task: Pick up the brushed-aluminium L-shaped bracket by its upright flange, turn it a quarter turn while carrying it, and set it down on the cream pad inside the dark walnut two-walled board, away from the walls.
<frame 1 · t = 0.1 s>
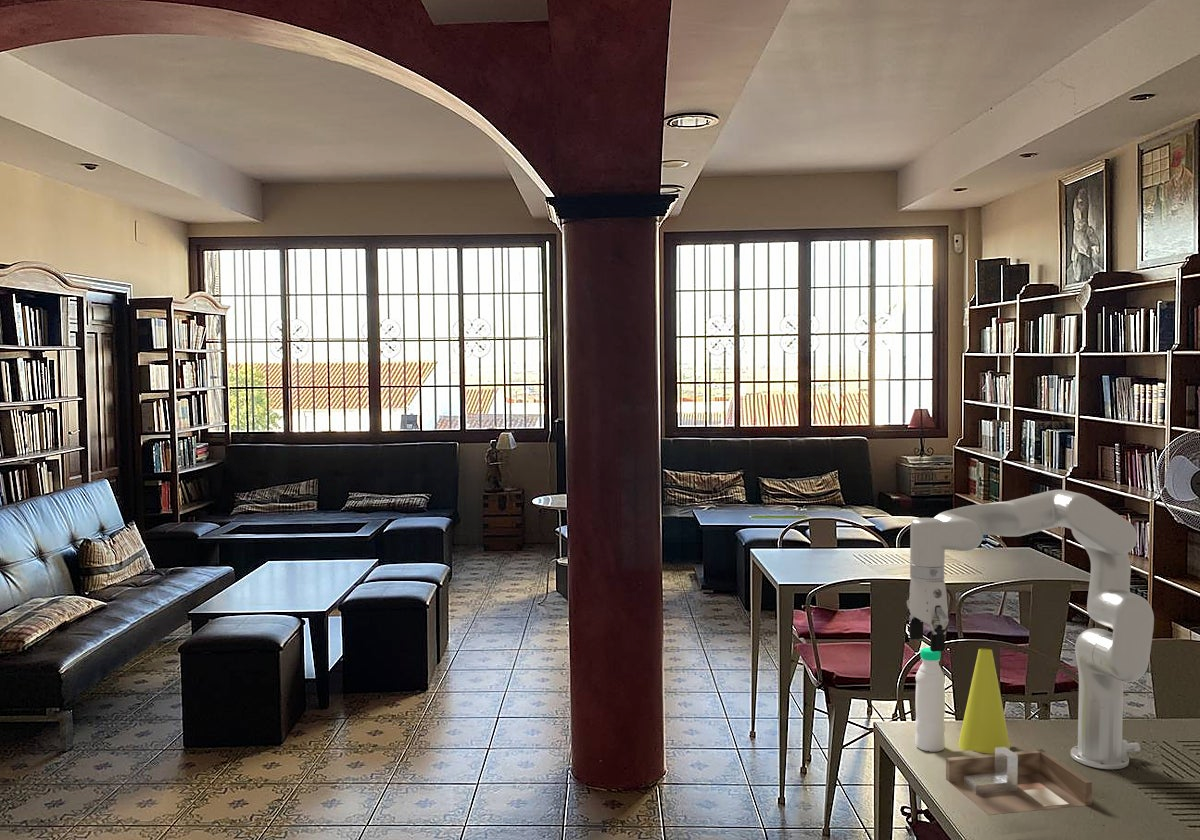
hand: (926, 644, 231), 31 cm above the table, tool pointing down, fingers open, 9 cm apart
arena: (1016, 795, 222), on the table
water bottle: (929, 748, 250), on the table
bracket: (990, 787, 224), point 1 cm above the table, touching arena
cone: (984, 748, 249), on the table
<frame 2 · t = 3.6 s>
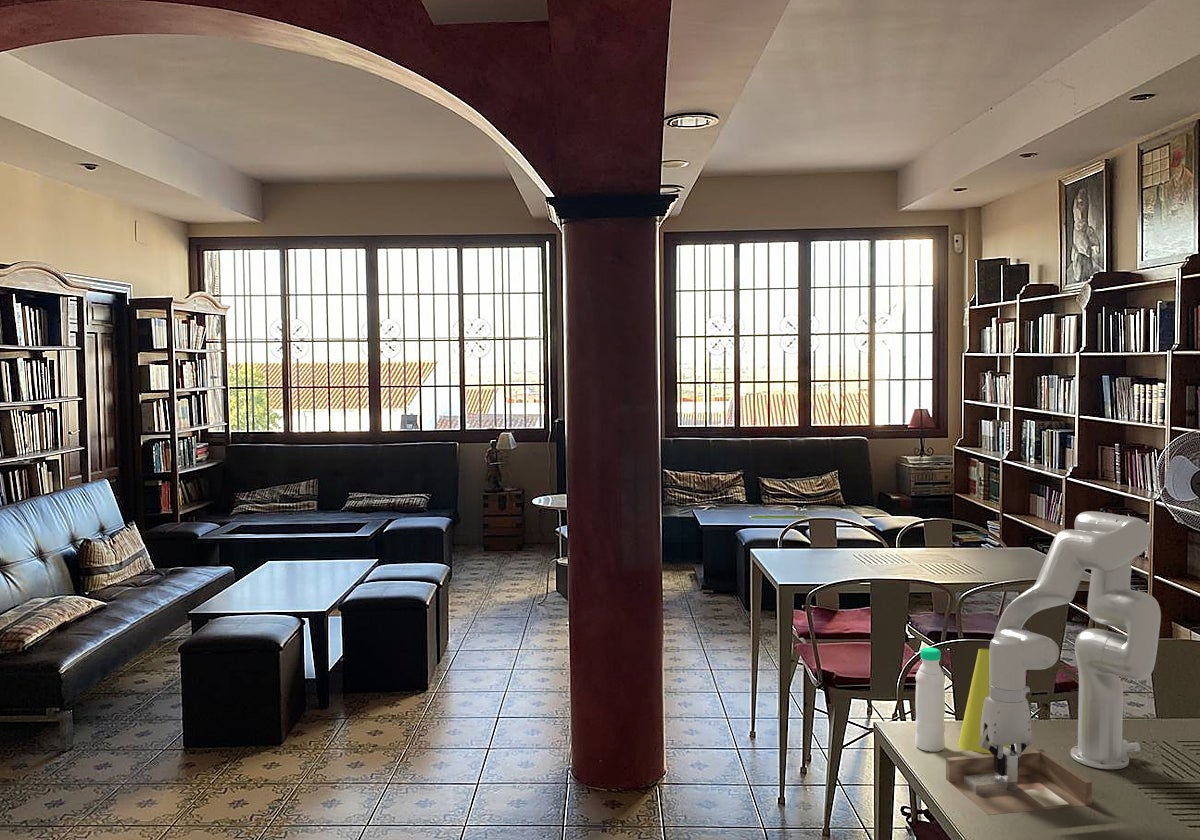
hand: (1006, 772, 225), 4 cm above the table, tool pointing down, fingers closed on bracket, 2 cm apart
bracket: (990, 787, 224), point 1 cm above the table, touching gripper
everything else where it was.
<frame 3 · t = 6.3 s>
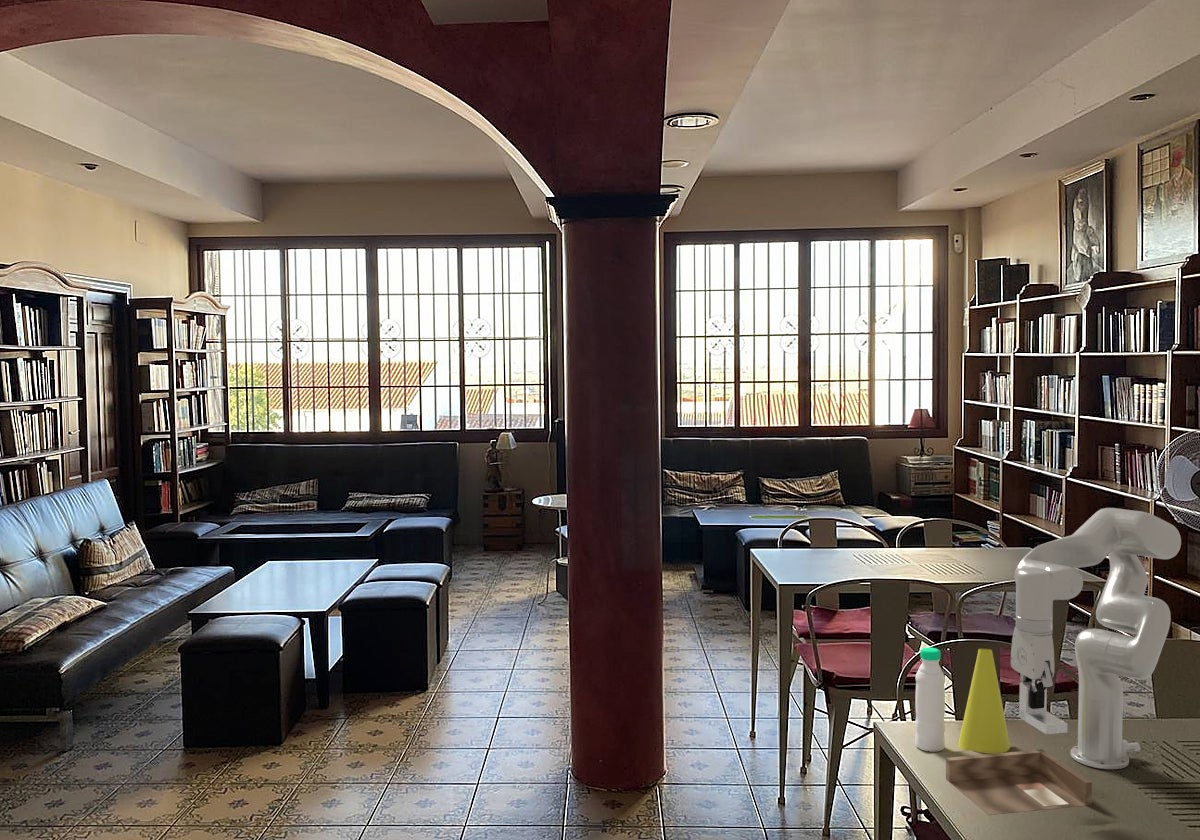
hand: (1032, 704, 223), 20 cm above the table, tool pointing down, fingers closed on bracket, 2 cm apart
bracket: (1042, 724, 219), point 17 cm above the table, touching gripper
everything else where it was.
when the fingers open (5 cm above the table, at t = 9.2 s): bracket stays where it is, resting on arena.
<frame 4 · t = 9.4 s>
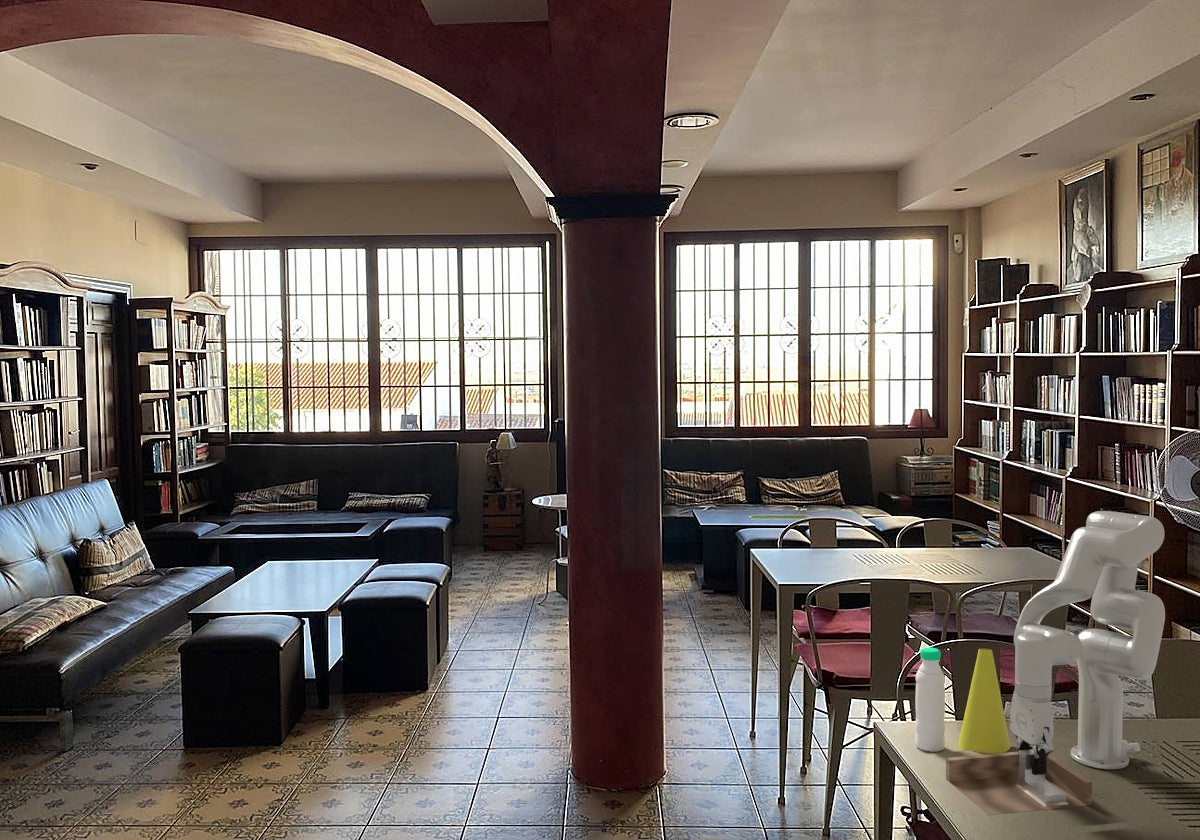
hand: (1032, 768, 224), 5 cm above the table, tool pointing down, fingers open, 4 cm apart
bracket: (1041, 793, 220), point 1 cm above the table, touching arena
everything else where it was.
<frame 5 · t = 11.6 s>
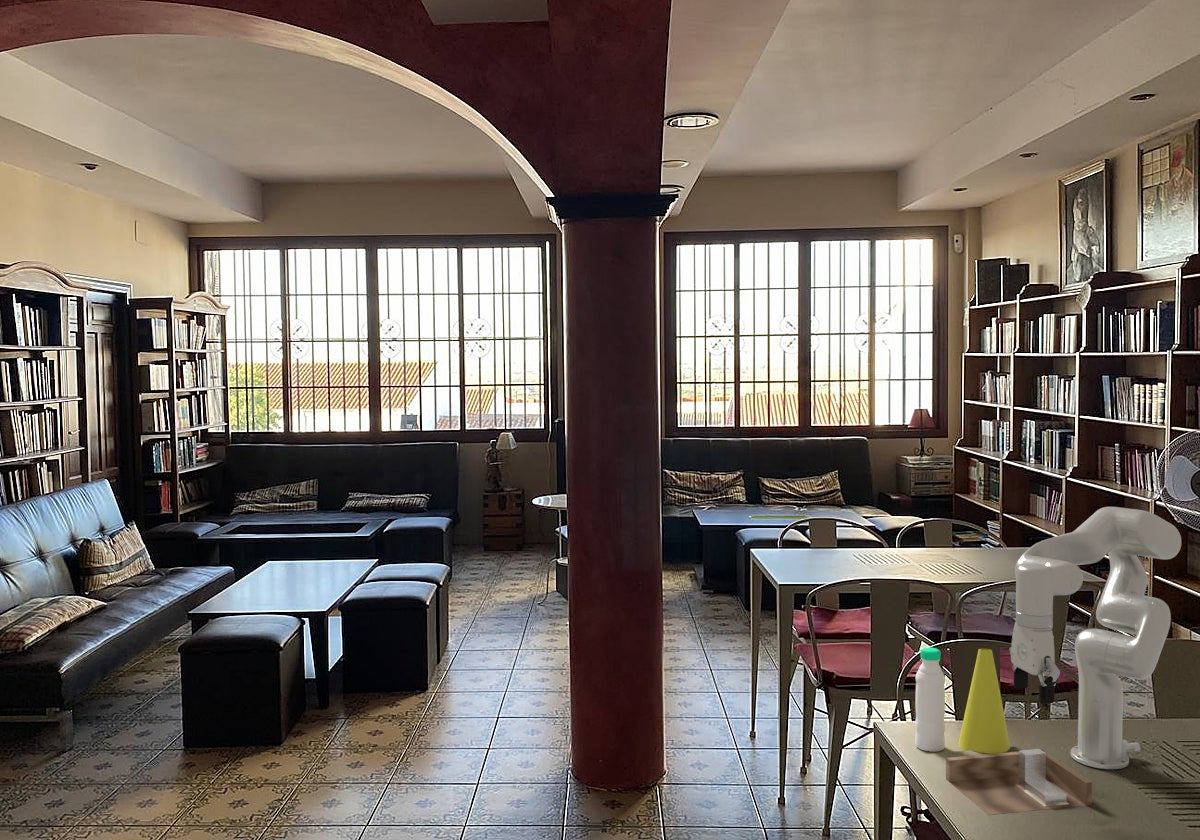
hand: (1033, 695, 223), 22 cm above the table, tool pointing down, fingers open, 9 cm apart
nothing on the table moved.
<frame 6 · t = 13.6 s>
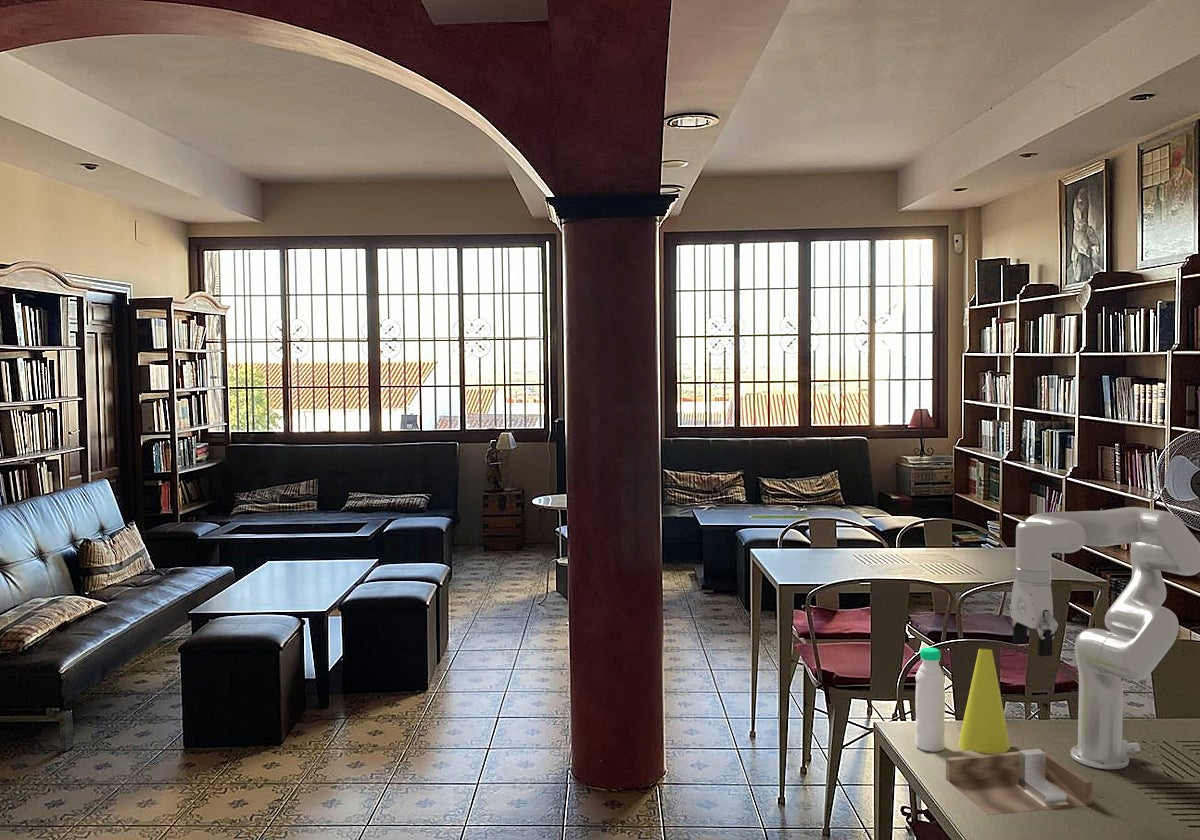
hand: (1032, 649, 229), 30 cm above the table, tool pointing down, fingers open, 9 cm apart
nothing on the table moved.
at the end: bracket 0.1 cm from the target spot on the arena, point 1.1 cm above the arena's base; bracket tilted 0°; the gripper is holding nothing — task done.
